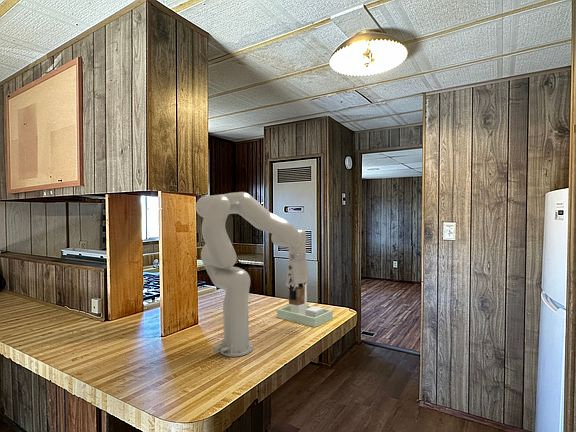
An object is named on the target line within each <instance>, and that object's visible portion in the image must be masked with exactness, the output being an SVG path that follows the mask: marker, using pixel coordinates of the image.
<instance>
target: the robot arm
mask: <svg viewBox="0 0 576 432" xmlns="http://www.w3.org/2000/svg"><path fill="white" fill-rule="evenodd" d="M195 212H196V213H197V214H198V215H199V216H200V217H201V218H203V219H202V223H201V235H202V238H203V241H204V242H205V243H204V245H203V246H202V248H201V251H200V259H201V261H202V264H203V266H204V268H205V270H206V272H207V275H208V276H209V278H210V280H211V282H212V284H213V285H214V286H215V287H216V288H217V289H221V290H222V291H225V295H224V298H223V302H222V303H223V304H222V311H223V312H222V316H223V317H222V319H223V320H222V322H223V327H222V328H223V339H221V343H219V344H218V345H215V346H213V348H212V350H213V352H214V353H218V352H219V353H220V354H221V355H223V356H226V357H231V358H232V357H236V358H237V357H242V356H246V355H248V354H250V353H251V352H252V351H253V350H254V345H253V343H252V342H250V339H249V338H250V337H249V336H250V335H249V333H250V332H249V329H250V328H249V327H250V325H249V296H250V295H249V294H250V287H251V277H250V274H249V272H248V271H246V270H245V269H243V268H240V267H238V266H234V265H235V264H236V262H237V258H238V257H237V253H236V251H235V248H234V246H233V244H232V242H231V239H230V237H229V234H228V233H227V229H226V221H227V219H228V216H229V215H231V214H233V215H235V214H236V215H239V216H241V217H242V218H243V219H244V220H245V221H247V222H248V223H250V224H251V225H252V226H253V227H254V228H255V229H258V230H260V231H263V232H265V233H269V234H271V242H272V243H273V244H274V245H275V246H277V247H281V248H288V262H287V267H286V268H287V269H286V270H287V271H286V281H285V286H286V287H287V288H288V291H289V290H290V299H292V300H296V291H295V288H296V284H298V286H299V287H304V288H305V284H306V282H307V283H308V281H309V273H308V271H309V269H308V263H307V259H306V258H307V254H306V252H307V251H306V250H307V249H306V247H307V245H306V244H307V243H306V242H307V236H306V235H307V234H306V230H304V229H297V228H296V227H295V226H294V225H292V224H291V223H290V222H289V221H287V220H286V219H284V218H282V217H280V216H278V215H276V214H275V213H272V212H270V211H269V210H268V209H266V207H264V206H263V205H262V204H261V203H260V202H259V201H258V200H256V199H255V198H254V197H253V196H252V195H251V194H249V193H248V192H245V191H238V192H228V193H224V194H214V195H205V196H201V197H199V199H198V200H197V201H196V203H195ZM292 285H293V286H292Z"/></svg>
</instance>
